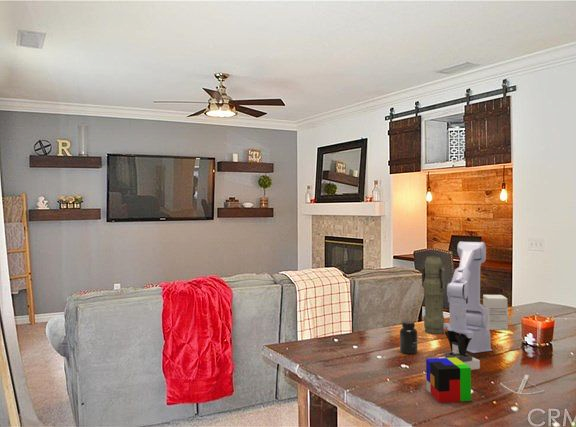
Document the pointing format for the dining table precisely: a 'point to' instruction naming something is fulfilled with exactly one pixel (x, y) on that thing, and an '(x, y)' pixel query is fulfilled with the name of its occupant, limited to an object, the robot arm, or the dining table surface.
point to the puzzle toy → (448, 379)
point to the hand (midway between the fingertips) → (458, 352)
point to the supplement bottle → (408, 338)
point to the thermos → (433, 294)
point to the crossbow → (522, 387)
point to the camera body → (466, 360)
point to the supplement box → (496, 311)
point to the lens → (455, 349)
